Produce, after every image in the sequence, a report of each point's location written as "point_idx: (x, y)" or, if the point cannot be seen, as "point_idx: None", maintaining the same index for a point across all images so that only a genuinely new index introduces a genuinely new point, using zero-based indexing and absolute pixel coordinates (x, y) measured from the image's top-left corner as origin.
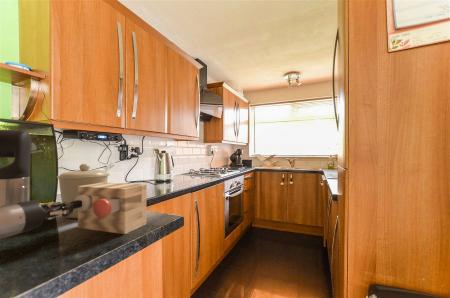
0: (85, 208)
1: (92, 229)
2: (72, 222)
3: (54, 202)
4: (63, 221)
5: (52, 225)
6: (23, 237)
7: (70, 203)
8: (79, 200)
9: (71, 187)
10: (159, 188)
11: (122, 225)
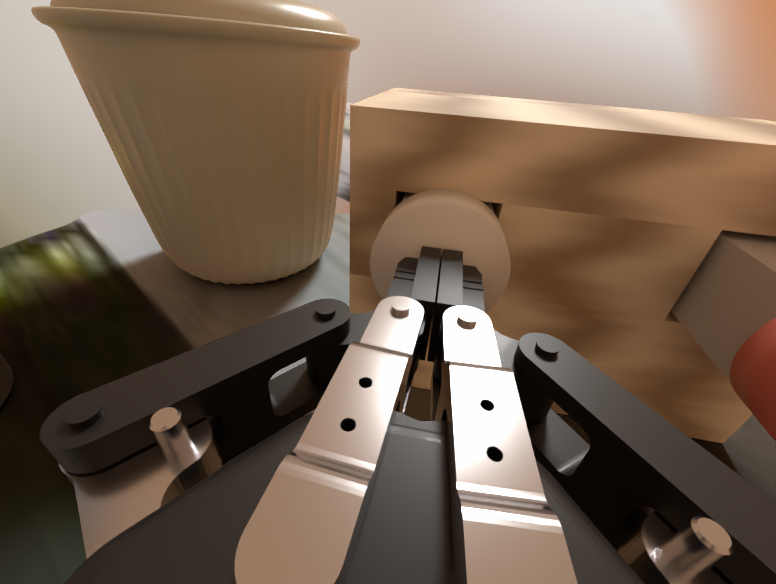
0: (486, 310)
1: None
2: (258, 317)
3: (348, 357)
4: (198, 308)
5: (166, 352)
6: (46, 566)
7: (556, 352)
8: (456, 254)
9: (201, 111)
10: (346, 128)
11: (730, 407)
